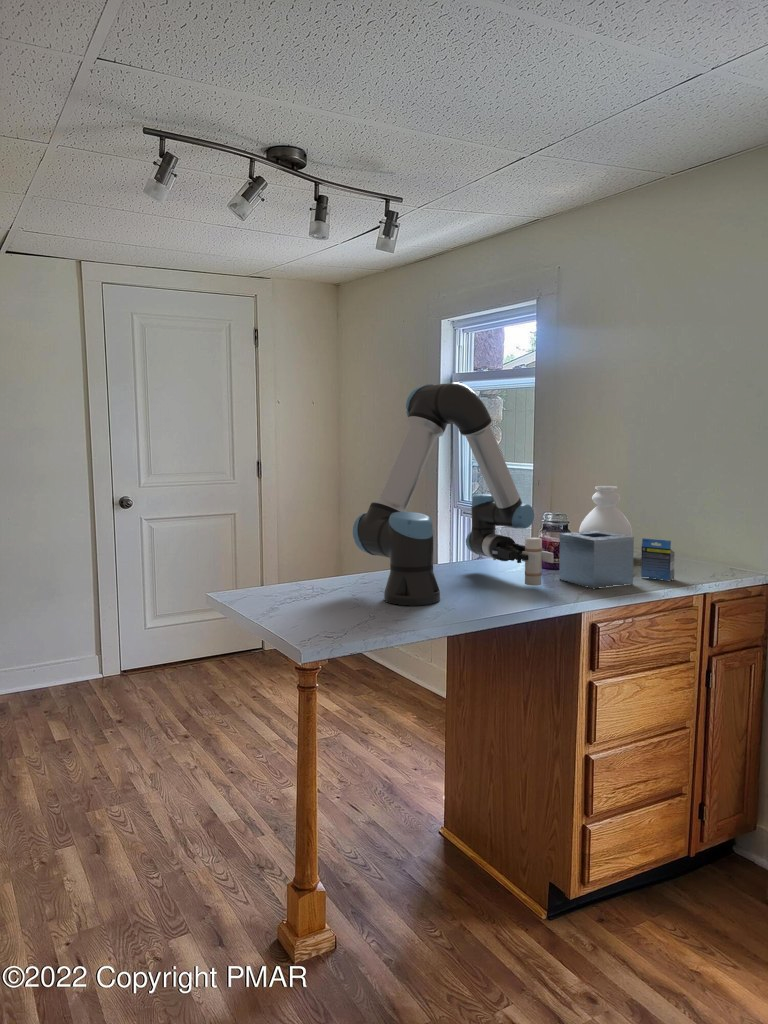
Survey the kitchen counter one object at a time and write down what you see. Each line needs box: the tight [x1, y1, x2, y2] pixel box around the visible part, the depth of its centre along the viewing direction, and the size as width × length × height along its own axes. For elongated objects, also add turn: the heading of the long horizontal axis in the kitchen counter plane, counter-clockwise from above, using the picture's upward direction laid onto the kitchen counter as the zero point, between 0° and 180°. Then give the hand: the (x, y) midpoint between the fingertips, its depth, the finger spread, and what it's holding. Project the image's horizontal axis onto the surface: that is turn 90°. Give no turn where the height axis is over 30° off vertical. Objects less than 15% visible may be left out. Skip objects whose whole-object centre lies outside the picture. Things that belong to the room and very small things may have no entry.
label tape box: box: [640, 537, 675, 582], centre depth 220 cm, size 9×4×12 cm, turn 50°
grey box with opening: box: [558, 530, 635, 588], centre depth 217 cm, size 14×16×14 cm
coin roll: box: [524, 537, 543, 587], centre depth 209 cm, size 5×5×13 cm
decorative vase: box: [578, 485, 633, 537], centre depth 258 cm, size 18×18×25 cm
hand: (544, 558), depth 204 cm, fingers closed on coin roll, 4 cm apart
